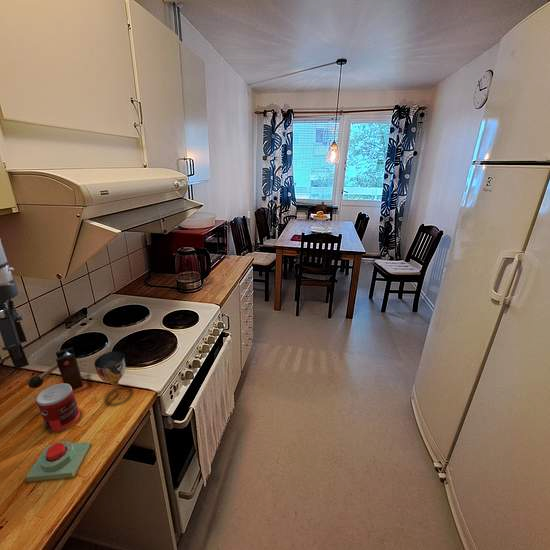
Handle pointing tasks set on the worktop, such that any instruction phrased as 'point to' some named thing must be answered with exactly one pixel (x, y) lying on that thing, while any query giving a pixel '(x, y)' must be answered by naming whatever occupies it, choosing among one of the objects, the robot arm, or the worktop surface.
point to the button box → (58, 463)
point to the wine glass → (111, 368)
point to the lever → (43, 375)
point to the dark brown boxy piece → (69, 368)
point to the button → (55, 452)
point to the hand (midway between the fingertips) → (21, 353)
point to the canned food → (58, 406)
